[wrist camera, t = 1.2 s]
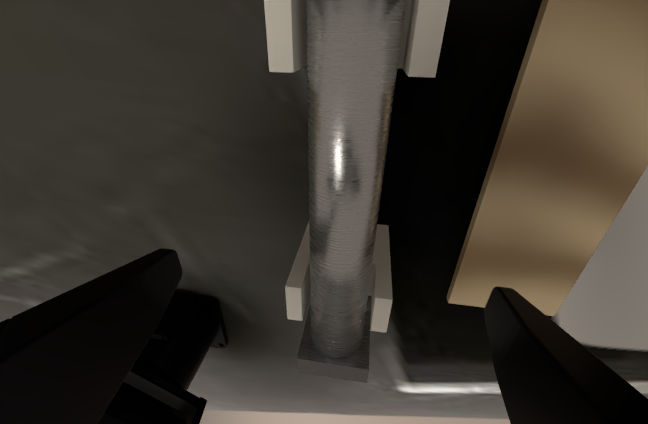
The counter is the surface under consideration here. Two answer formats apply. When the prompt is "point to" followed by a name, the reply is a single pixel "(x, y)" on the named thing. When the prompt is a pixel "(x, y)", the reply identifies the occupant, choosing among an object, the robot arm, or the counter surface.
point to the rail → (346, 172)
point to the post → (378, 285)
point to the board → (561, 154)
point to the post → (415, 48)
